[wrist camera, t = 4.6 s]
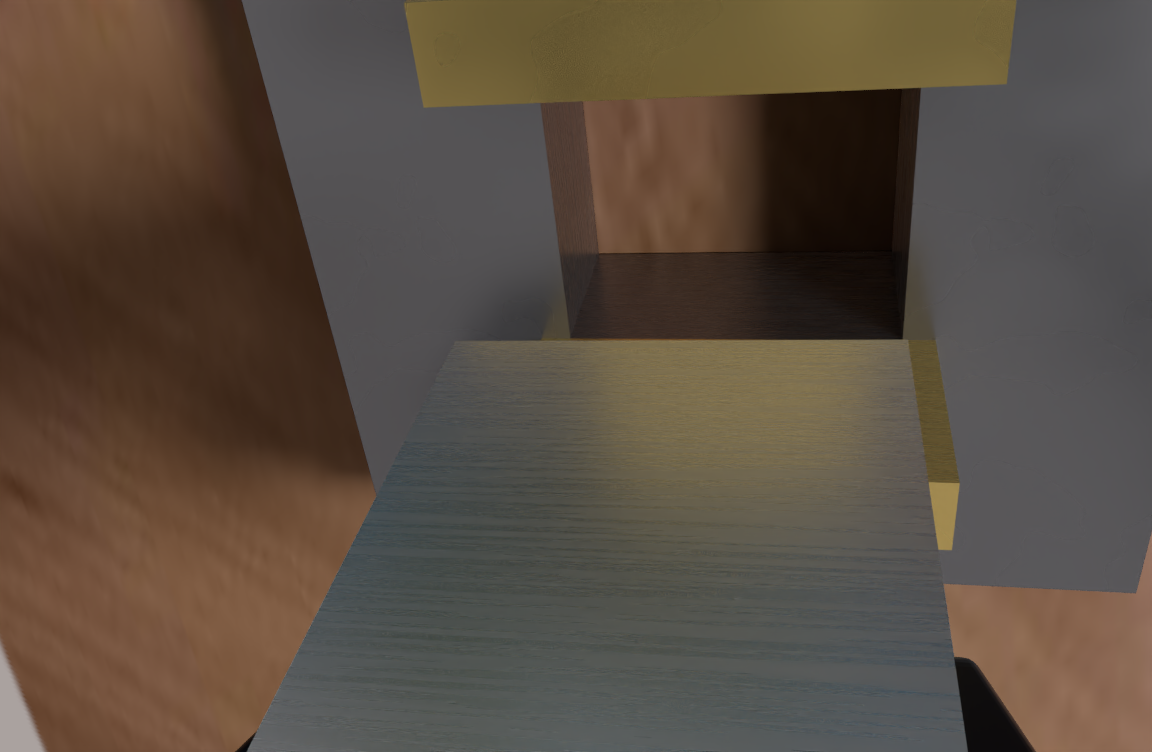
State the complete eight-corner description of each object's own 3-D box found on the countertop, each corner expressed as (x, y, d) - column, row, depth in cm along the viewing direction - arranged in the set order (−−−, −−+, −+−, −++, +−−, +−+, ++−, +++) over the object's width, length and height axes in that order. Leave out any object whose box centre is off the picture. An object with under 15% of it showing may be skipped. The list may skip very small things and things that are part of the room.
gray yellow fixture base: (1320, -558, 13) (1770, -712, 7) (1100, 483, 22) (1210, 819, 16) (236, -399, 16) (-124, -410, 10) (434, 463, 25) (310, 739, 19)
